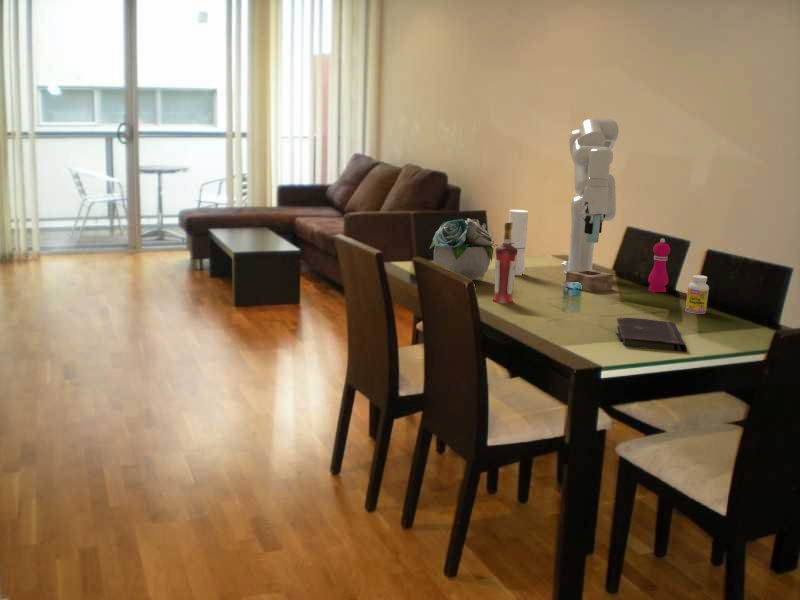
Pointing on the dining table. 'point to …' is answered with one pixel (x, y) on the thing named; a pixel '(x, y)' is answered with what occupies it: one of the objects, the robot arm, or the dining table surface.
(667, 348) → the diary
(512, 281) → the liquor
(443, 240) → the flower arrangement
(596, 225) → the peg
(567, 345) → the dining table surface
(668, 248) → the pepper mill
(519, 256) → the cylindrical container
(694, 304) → the supplement bottle
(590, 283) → the socket block
